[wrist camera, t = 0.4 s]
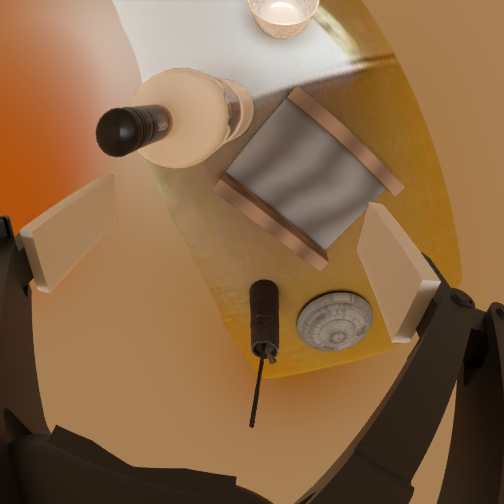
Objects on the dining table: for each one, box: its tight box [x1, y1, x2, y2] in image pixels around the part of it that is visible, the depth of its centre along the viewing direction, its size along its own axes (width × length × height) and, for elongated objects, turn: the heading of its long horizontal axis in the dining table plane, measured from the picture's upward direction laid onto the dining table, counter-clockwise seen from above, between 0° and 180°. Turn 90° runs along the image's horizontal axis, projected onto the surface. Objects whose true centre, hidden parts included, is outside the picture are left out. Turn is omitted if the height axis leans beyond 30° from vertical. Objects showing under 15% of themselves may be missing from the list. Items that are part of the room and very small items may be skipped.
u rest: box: [212, 86, 405, 271], centre depth 40 cm, size 20×18×5 cm
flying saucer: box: [297, 293, 373, 352], centre depth 53 cm, size 15×15×6 cm
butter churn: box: [249, 280, 279, 428], centre depth 41 cm, size 9×10×28 cm
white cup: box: [247, 0, 319, 39], centre depth 27 cm, size 8×8×10 cm
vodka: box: [96, 68, 254, 169], centre depth 25 cm, size 9×9×30 cm
